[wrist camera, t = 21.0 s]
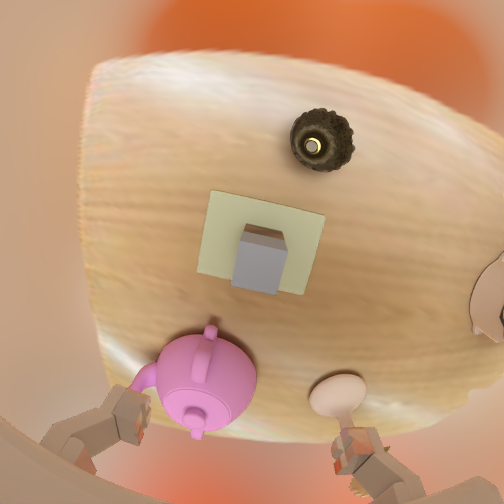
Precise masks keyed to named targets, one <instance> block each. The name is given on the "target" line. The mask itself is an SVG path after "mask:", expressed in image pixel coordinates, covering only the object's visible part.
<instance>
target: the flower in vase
mask: <svg viewBox="0 0 504 504" xmlns="http://www.w3.org/2000/svg"><path fill="white" fill-rule="evenodd" d="M366 391H367V386H366V383H365V381H364V380H363V379H362V378H360V377H358V376H356V375H352V374H339V375H335V376H332V377H329V378H327V379H325V380H324V381H322V382H321V383H319V384H318V385H317V386H316V387H315V388H314V390H313V391H312V393H311V395H310V397H309V404H310V406H311V408H312V409H313V410H314V411H315V412H316V413H317V414H319V415H322V416H326V417H337V418H338V420H339V423H340V428H341V430H342V429H343V428H345V427H355V426H354V424H353V421H352V418H351V412H352V411H354V410H355V409H356V408H357V407H358V406H359V405H360V404H361V403H362V401H363V400H364V398H365V396H366ZM389 448H390V446H389V447H385V448H384V451H385V453H386V452H387V451H388V450H389ZM350 484H351V485H350V486H349V488H351V489H350V491H353V492H355V493H354V495H356V496H357V495H360V497H365V496H369V497H370V498H372V497H371V496H370V495H369V494H368V492H367V491H366V490H365V489H364V488H363V487H362V486H361V485H360V483H359V482H358V481H357V480H356V479H355V478H353V479H352V482H351V483H350Z"/></svg>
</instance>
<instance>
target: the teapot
mask: <svg viewBox="0 0 504 504" xmlns="http://www.w3.org/2000/svg"><path fill="white" fill-rule="evenodd" d="M217 332H218V329H217V327H215V326H214V325H206V327H205V330H204V334H203V335H198V334H195V335H187V336H183V337H180V338H177V339H175V340H173V341H172V342H170V343H169V344H168V345H167V346H166V347H165V348H164V349H163V350H162V352H161V354H160V356H159V358H158V361H157V362H154V363H150V364H148V365H145V366H144V367H143V368H142V369H141V370H140V371H139V372H138V374H137V375H136V377H135V379H134V380H133V382H132V384H131V385H130V386H129V387H128V388H129V389H131V390H134V391H137V392H139V393H141V392H142V391H143V390H144V389H145V388H148V387H153V386H156V388H157V392H158V395H159V398H160V400H161V403H162V405H163V407H164V409H165V411H166V413H167V414H168V415H169V416H170V417H171V418H172V419H173V420H174V421H175V422H177V423H178V424H180V425H182V426H184V427H186V428H189V429H191V432H190V436H191V437H192V438H193V439H197V440H200V439H202V438H203V434H204V431H215V430H219V429H221V428H223V427H225V426H227V425H228V424H230V423H231V422H232V421H234V420H235V419H236V418H237V417H238V416H240V415H241V414H242V413H243V411H244V410H245V409H246V408H247V406H248V405H249V403H250V401H251V399H252V397H253V395H254V392H255V388H256V381H257V376H256V371H255V368H254V365H253V363H252V362H251V360H250V359H249V357H248V356H247V355H246V354H245V353H244V352H243V351H242V350H241V349H240V348H238V347H237V346H236V345H234V344H232V343H230V342H228V341H226V340H224V339H221V338H218V337H217Z"/></svg>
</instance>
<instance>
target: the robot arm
mask: <svg viewBox="0 0 504 504" xmlns="http://www.w3.org/2000/svg"><path fill="white" fill-rule="evenodd" d="M470 316H471V319H472V322H473V326H472V332H473V333H474V334H476V335H477V334H482V333H484V334H486V335H487V336H488V337H490V338H491V339H492V340H493V341H495V342H496V343H499V342H503V341H504V252H503V253H502V254H501V255H500V257H499V258H498V259H497V260H496V261H495V262H493V263H492V264H490V265H489V266H488V267H487V268H486V269H485V270H484V272H483V273H482V275H481V276H480V278H479V279H478V281H477V283H476V285H475V288H474V290H473V293H472V297H471V301H470ZM150 402H151V398H150V396H148V395H145V394H142V393H139V392H137V391H134V390H131V389H129V388H126V387H123V386H121V385H118V384H116V385H115V386H113V388H112V390H111V391H110V393H109V394H108V396H107V397H106V399H105V401H104V402H103V404H102V405H101V407H100V409H98V408H94V409H92V410H89V411H87V412H84V413H82V414H79V415H77V416H74V417H71V418H69V419H66V420H63V421H61V422H57V423H55V424H53V425H52V426H51V428H50V429H49V430H48V432H47V433H46V435H45V436H44V438H43V439H42V440H41V442H40V443H39V444H38V443H37V442H35V441H34V440H32V439H30V438H29V437H28V436H26V435H25V434H24V433H22V432H21V431H19V430H18V429H17V428H15V427H14V426H13V425H11V424H10V423H9V422H7V421H6V420H5V419H4V418H2V416H0V504H174V503H170V502H166V501H162V500H159V499H156V498H153V497H149V496H146V495H143V494H140V493H137V492H135V491H132V490H129V489H126V488H124V487H121V486H119V485H116V484H114V483H111V482H109V481H106V480H104V479H102V478H100V477H98V476H95V474H96V471H97V470H96V468H95V466H94V464H93V462H92V460H91V458H92V457H93V456H95V455H97V454H99V453H100V452H102V451H104V450H105V449H107V448H109V447H111V446H112V445H114V444H115V443H117V442H119V441H120V440H122V441H125V442H128V443H131V444H134V445H136V446H139V445H140V442H141V440H142V438H143V435H144V433H143V429H145V428H147V426H148V423H149V420H150V416H151V408H150V406H149V405H150ZM331 453H332V456H333V458H335V459H336V461H335V462H334V468H335V473H336V475H349V474H353V476H354V478H355V479H356V480H357V481H358V482H359V483H360V485H361V486H362V487H363V488H364V489H365V490H366V491H367V492H368V494H369V495H370V496H371V497H372V498H373V499H374V500H373V501H371V502H370V503H369V504H504V502H503V499H502V497H501V495H500V492H499V490H498V489H497V487H496V486H495V485H494V484H492V483H491V482H489V481H487V480H486V479H484V478H482V477H479V476H477V477H473V478H471V479H469V480H466V481H464V482H462V483H460V484H457V485H455V486H452V487H450V488H448V489H445V490H443V491H440V492H437V493H434V494H431V495H428V496H426V493H425V490H424V488H423V485H422V482H421V480H420V477H419V476H417V475H416V474H415V473H413V472H412V471H411V470H409V469H408V468H407V467H406V466H404V465H403V464H402V463H400V462H399V461H398V460H397V459H395V458H394V457H393V456H392V455H390V454H389V453H388V452H387V453H385V451H384V448H383V445H382V442H381V440H380V437H379V434H378V432H377V429H376V428H375V427H345V428H343V429H342V430H341V431H340V436H338V437H337V438H335V440H334V441H333V443H332V447H331Z"/></svg>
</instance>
